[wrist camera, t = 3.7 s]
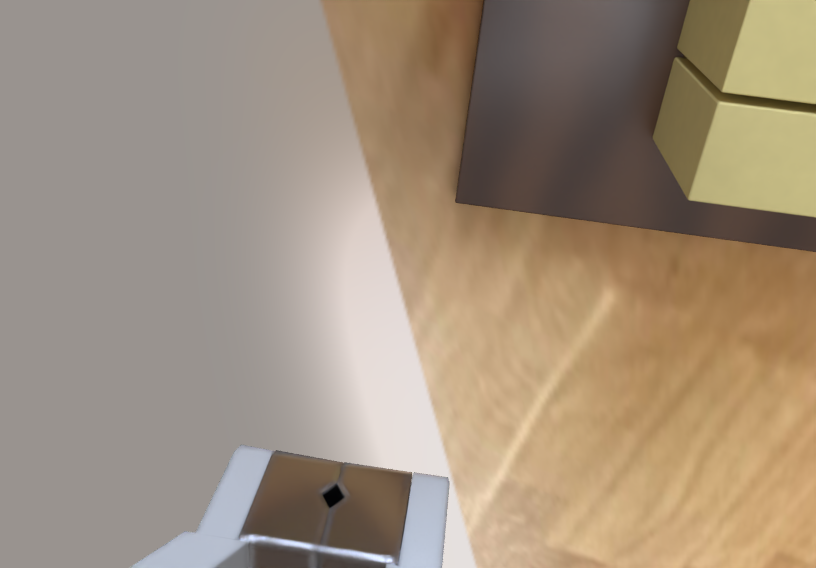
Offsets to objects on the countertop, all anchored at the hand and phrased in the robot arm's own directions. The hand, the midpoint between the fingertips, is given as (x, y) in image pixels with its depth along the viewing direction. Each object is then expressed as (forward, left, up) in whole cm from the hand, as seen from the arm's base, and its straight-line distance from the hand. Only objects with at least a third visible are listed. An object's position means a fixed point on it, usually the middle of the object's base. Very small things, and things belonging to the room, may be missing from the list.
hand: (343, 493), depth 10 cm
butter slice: (+12, 0, -24) cm, 27 cm away
